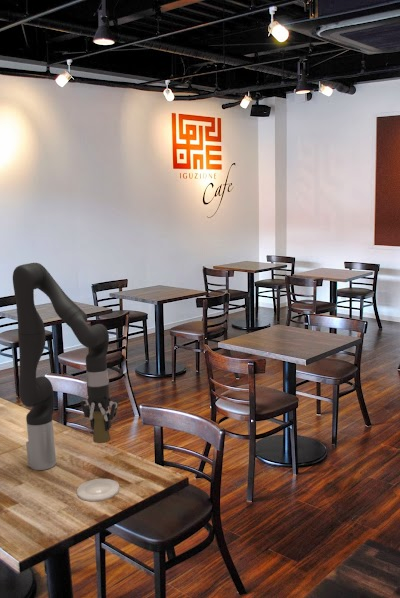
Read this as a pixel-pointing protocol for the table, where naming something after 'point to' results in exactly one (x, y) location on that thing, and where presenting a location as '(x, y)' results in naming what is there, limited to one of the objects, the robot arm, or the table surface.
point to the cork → (100, 428)
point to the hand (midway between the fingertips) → (101, 429)
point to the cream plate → (98, 490)
